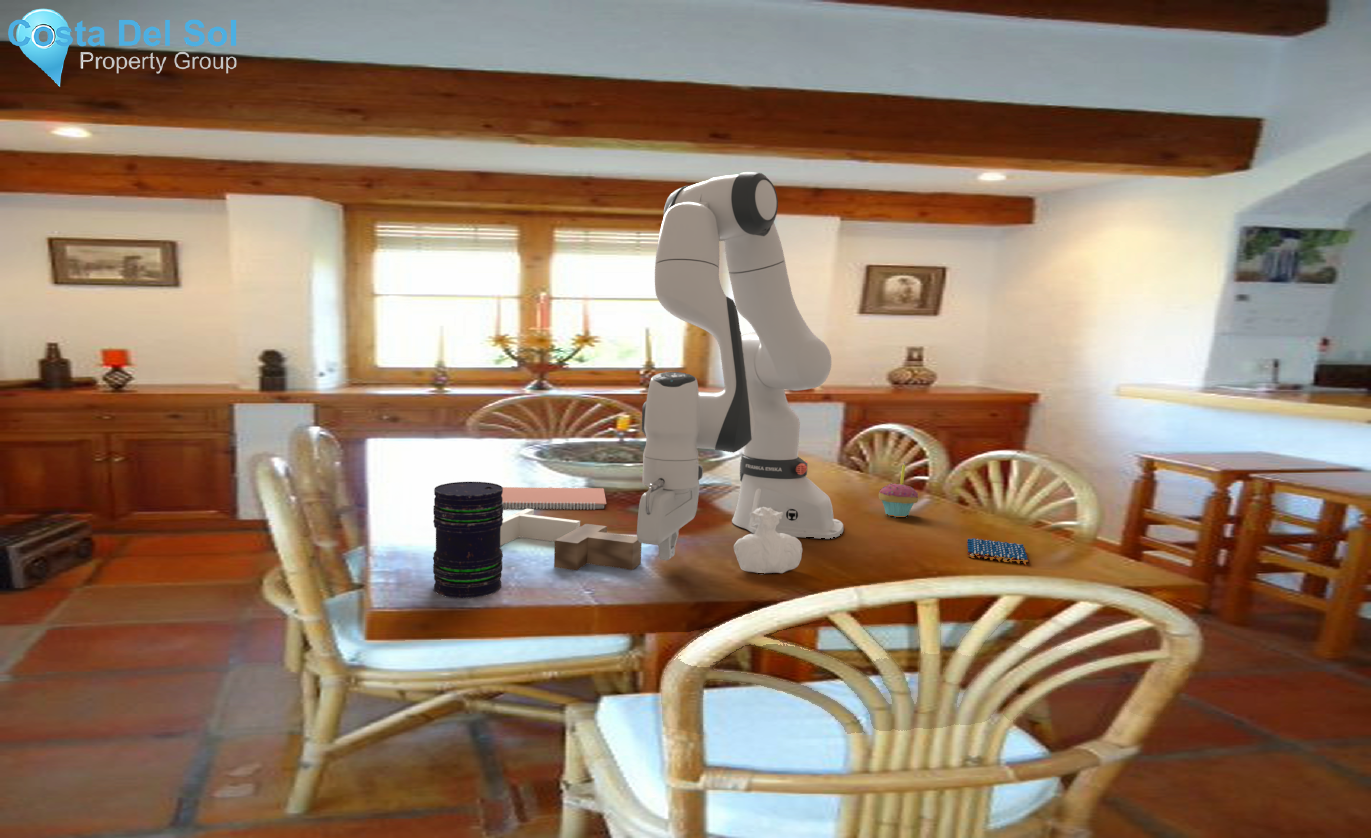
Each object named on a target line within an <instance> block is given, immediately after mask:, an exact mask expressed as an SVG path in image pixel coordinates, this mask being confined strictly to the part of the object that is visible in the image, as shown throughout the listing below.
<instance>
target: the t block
mask: <svg viewBox="0 0 1371 838" xmlns="http://www.w3.org/2000/svg"><path fill="white" fill-rule="evenodd" d="M642 544H643V543H640V542H639V541H638V539H637V535H636V536H634V535H627V534H619V533H611V532H610V533H609V532H608V526H606V525H599V524H592V523H591V524H590V523H584V524H583V525H580V527H579V528H577V529H575V530H573V531H571V532H569V533H568V534H566V535H564V536H562V537H560V538H558V539H556V540H555V542H554V559H553V560H554V561H553V562H554V563H553V567H554V568H557V569H561V570H562V569H563V570H569V571H575V572H576V571H578V570H580V569H581V568H582V567H585V566H586V565H591V566H593V565H594V566H601V567H608V568H613V569H622V570H623V569H624V570H630V571H634V569H636V568H637V567H638V566H639V565H641V564H642Z"/></svg>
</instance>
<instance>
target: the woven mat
mask: <svg viewBox="0 0 1371 838" xmlns="http://www.w3.org/2000/svg"><path fill="white" fill-rule="evenodd" d="M967 547H968V548H967ZM967 549H968V551H966V553H967V552H968V553H970V554H969V555H971V556H975V555H974V554H979V555H977V556H981V558H983V557H994V556H997V557H994V558H999V557H1004V560H1008V559H1007V558H1010V560H1011V558H1012V557H1013V559H1012V560H1018V559H1019V560H1023V561H1024V560H1028V559H1029V557H1028V553H1027V550H1026V548H1025V547H1024V544H1023V543H1021V544H1019V543H1016V542H1013V543H1012V542H1010V543H1009V542H1007V541H1005V542H1002V541H999V540H998V541H995V540H993V541H992V540H991V539H988V540H987V539H985V540H984V539H982V538H981V539H979V538H977V539H976V538H967V541H966V550H967ZM1025 551H1026V552H1025ZM968 553H967V554H968ZM1026 553H1027V554H1026ZM985 554H987V555H988V554H989V555H990V556H987V555H985ZM998 556H999V557H998ZM1028 562H1029V563H1030V560H1029V561H1028Z"/></svg>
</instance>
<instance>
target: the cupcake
mask: <svg viewBox="0 0 1371 838" xmlns="http://www.w3.org/2000/svg"><path fill="white" fill-rule="evenodd" d="M905 471H906V460H905V461H903V464H902V466H901V474H900V481H899V483H892V482H891V483H889V484H887V485H885V486H883V487H882V488H881V489H880V490H879V492H878V498H879V500H880V501H881V503H882V504H883V508H884V511H885V515H886V514H888V515H894V516H907V515H908V516H909V514H910V511H911V509H912V508H913V506H914V504H917V503H918V501H919V492H917V490H916V489H915V488H913V487H912V486H909V485H907V484H904V481H905V480H904V479H905V473H906V472H905Z"/></svg>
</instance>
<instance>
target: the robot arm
mask: <svg viewBox="0 0 1371 838" xmlns="http://www.w3.org/2000/svg"><path fill="white" fill-rule="evenodd" d="M778 208H779V200H778V194H777V190H776V188H775V186H774V183H772V181H771V180H770V179H769V178H768V177H767V176H766V175H765V174H763V173H762V172H757V171H743V172H740V173H739V174H738V173H737V174H736V173H735V174H727V175H721V176H715V177H711V178H709V179H707V180H703V181H700V182H697V183H695V184H691V185H685V186H682V187H679V188H677V189H676V190H674V191H673V192H672V193H670V194H669V196H668V197H667V199H666V202H665V205H664V209H663V219H662V222H661V226H660V230H659V234H658V240H657V245H656V253H655V262H654V263H655V264H654V265H655V266H654V288H655V289H654V290H655V296H656V298H657V300H658V302H659V303H660V305H661V306H662V307H663V308H664V309H665V310H666V311H667V312H668V313H669V314H671V315H672V316H674V317H676V318H677V319H678V320H681V321H683V322H685V323H688V324H690V325H692V326H695V327H697V328H700V329H702V330H704V331H706V332H707V333H709V334H710V335H711V336H712V337H713V338H715V340H716V342H717V343H718V347H719V351H720V352H719V353H720V360H721V361H720V362H721V367H722V368H721V369H722V376H723V377H722V378H723V386H724V387H723V389H722V390H721V391H718V392H717V391H715V392H714V391H713V392H711V391H699V384H698V380H697V377H695V376H694V375H692V374H689V373H686V372H679V371H668V372H667V371H665V372H659V373H657V374H655V375H653V376H652V377H651V379H650V381H649V384H648V385H649V386H648V389H647V394H646V400H645V402H644V403H643V405H642V408H641V409H642V411H641V432H642V433H643V434H644V436H645V439H646V440H645V441H646V443H645V447H644V450H643V455H642V456H643V457H642V460H643V461H642V484H643V486H645V487H648V490H647V491H646V492H644V493H643V494H642V495H641V496H640V500H639V505H638V512H637V513H638V515H637V526H636V537H637V539H638V541H639V542H640V543H642V544H644V545H651V546H657V547H658V559H659V560H660V561H661V560H662V561H669V560H670V559H672V558H673V557H674V556H675V554H676V545H677V542H678V537H679V533H680V532H679V531H680V529H682V527H684V526H685V525H687V524H688V523H689V522H691V521H692V520H694V519H695V516H696V514H697V510H698V502H699V496H700V495H699V493H700V480H701V479H702V478H703V476H704V475H703V474H704V468H703V467H704V466H703V465H702V464H699V452H698V449H709V450H716V451H720V452H726V453H734V454H735V453H736V452H738V451H740V450H742V449H743V453H742V454H741V455H740V458H741V459H740V463H739V481H740V486H739V487H740V488H739V489H740V490H739V492H738V493H739V494H738V498H737V499H738V500H737V504H736V508H735V512H734V515H733V517H732V519H731V522H732V523H733V525H735V526H737V527H739V528H742V529H745V530H747V531H749V532H750V533H751V534H755V531H756V530H757V527H758V525H754V526H753V525H752V524H753V518H751V517H750V513H752V512H754V511H755V510H756V509H758V508H760V507H761V508H762V507H767V508H770V507H771V509H773V510H774V511H777V512H783V515H782V516H781V517H782V519H779V524H778V525H776V528H775V531H776V532H777V533H784V534H787V535H790V536H792V537H796V538H806V537H814V538H813V539H821V538H825V539H824V540H830V538H831V539H834V538H833V537H835V538H837V537H839V536H841V535H842V534H843V532H844V524H843V522H842V521H841V520H839V519H837V518H834V512H833V510H834V509H833V505H832V500H831V498H830V496H829V495H828V494H827V493H825V492H824V491H823V490H822V489H821V488H819V486H817V484H815V483H814V482H813V481H812V480H811V479H809V478H808V477H807V475H808V460H803V459H802V458H800V457H799V444H800V443H799V442H800V424H801V422H800V419H799V416H798V415H797V413H796V412H795V411H794V410H793V408H792V407H791V406H790V404H789V401H788V399H787V396H786V391H797V392H798V391H804V390H810V389H811V390H813V389H815V388H819V387H820V386H822V385H823V384H824V383H825V382H826V380H827V379H828V377H829V375H830V372H831V369H832V355H831V352H830V349H829V347H828V346H827V344H826V343H825V342H824V341H823V340H821V339H820V338H819V337H818V336H816V335H815V334H814V332H813V331H812V330H811V329H810V327H809V326H808V325H807V323H806V322H805V320H804V318H803V317H802V315H801V313H800V310H799V309H798V306H797V304H796V302H795V299H794V295H793V292H792V288H791V284H790V279H789V274H788V270H787V264H786V260H785V255H784V251H783V250H784V248H783V246H782V242H781V238H780V236H779V232H778V230H777V226H776V224H775V220H776V217H777V214H778V210H779V209H778ZM723 241H724V251H725V258H726V265H727V271H728V275H729V280H730V285H731V289H732V294H733V299H732V298H730V297H728V296H727V295H726V294H725V292H724V289H723V287H722V284H721V281H720V280H721V279H720V242H723ZM738 313H739V314H738ZM739 315H741V317H742V318H744V319H745V321H747V322H748V323H749V324H750V326H751V327H752V329H753V330H754V332H749V333H745V334H742V332H741V328H740V319H739ZM785 390H786V391H785ZM840 534H841V535H840Z"/></svg>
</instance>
